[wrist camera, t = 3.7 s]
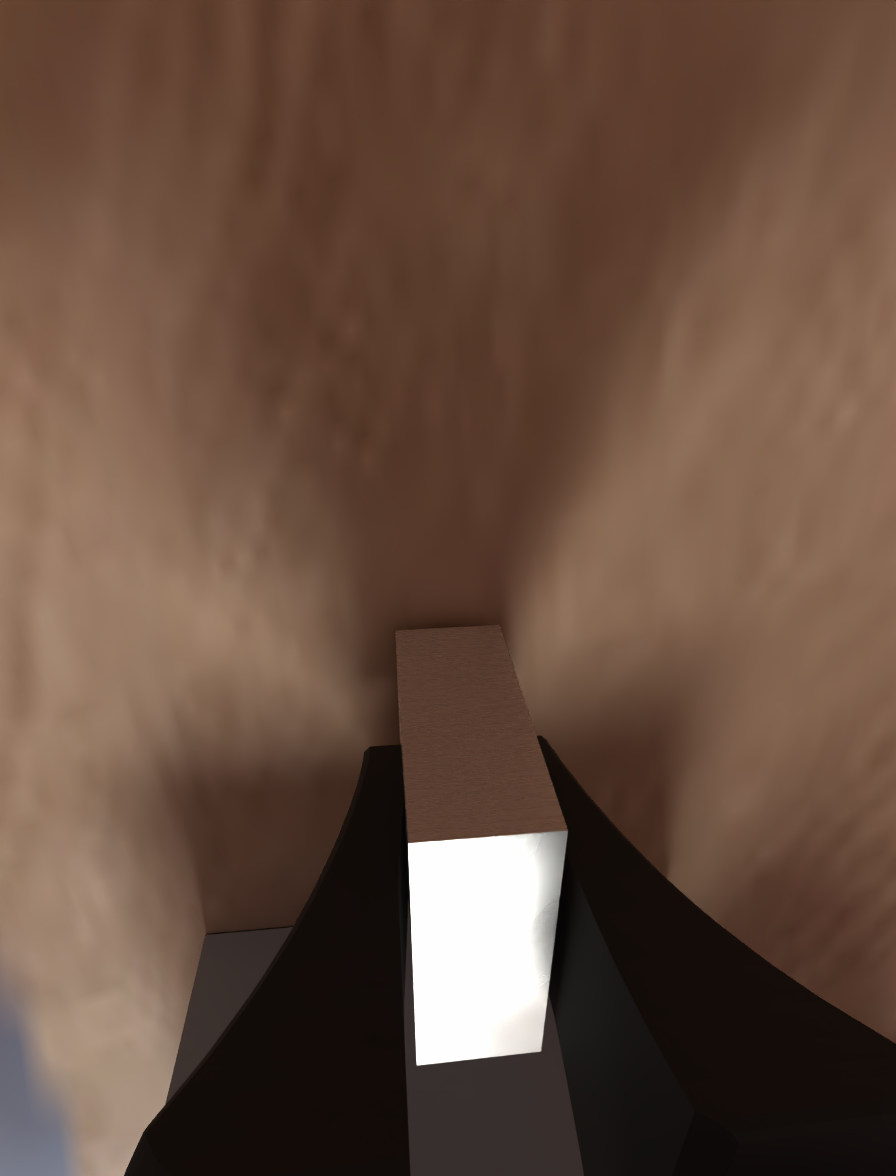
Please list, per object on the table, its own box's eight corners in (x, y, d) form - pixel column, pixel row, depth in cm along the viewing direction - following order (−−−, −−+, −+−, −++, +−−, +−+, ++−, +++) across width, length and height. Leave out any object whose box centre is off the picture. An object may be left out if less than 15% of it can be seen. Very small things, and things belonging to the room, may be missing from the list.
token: (499, 624, 13) (568, 830, 8) (491, 813, 15) (540, 1051, 11) (395, 630, 12) (408, 844, 8) (403, 820, 15) (417, 1064, 10)
